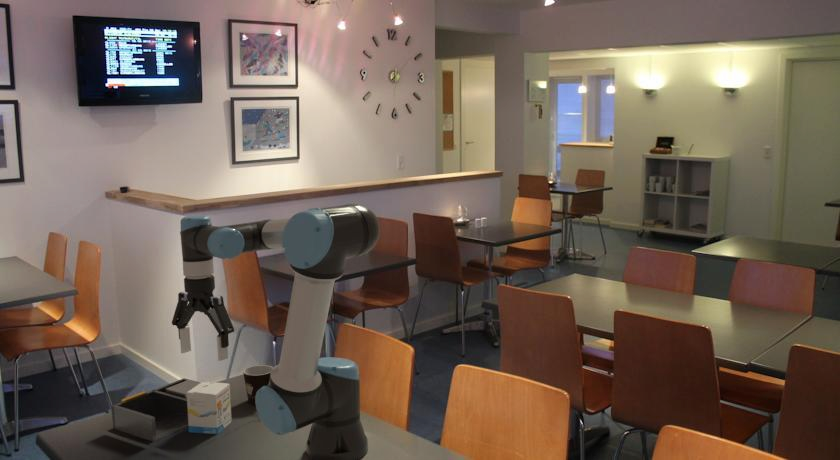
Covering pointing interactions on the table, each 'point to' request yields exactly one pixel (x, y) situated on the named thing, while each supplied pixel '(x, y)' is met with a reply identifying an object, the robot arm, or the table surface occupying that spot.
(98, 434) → the table surface
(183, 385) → the light grey block
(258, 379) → the coffee mug
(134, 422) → the grey compartment tray
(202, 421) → the ink box
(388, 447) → the table surface
